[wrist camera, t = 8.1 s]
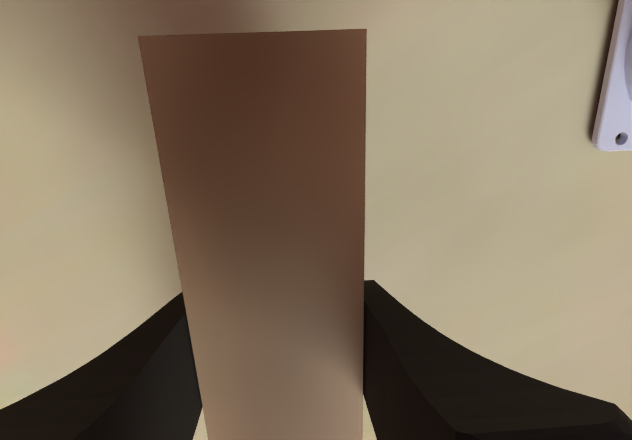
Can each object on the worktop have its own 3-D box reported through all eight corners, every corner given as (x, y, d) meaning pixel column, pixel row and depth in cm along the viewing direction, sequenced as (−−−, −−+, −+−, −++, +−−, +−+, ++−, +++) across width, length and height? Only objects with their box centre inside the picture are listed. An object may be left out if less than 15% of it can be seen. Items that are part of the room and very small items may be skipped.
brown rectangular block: (361, 37, 11) (393, 27, 7) (359, 509, 17) (375, 614, 14) (164, 44, 10) (108, 37, 7) (238, 519, 17) (226, 629, 14)
